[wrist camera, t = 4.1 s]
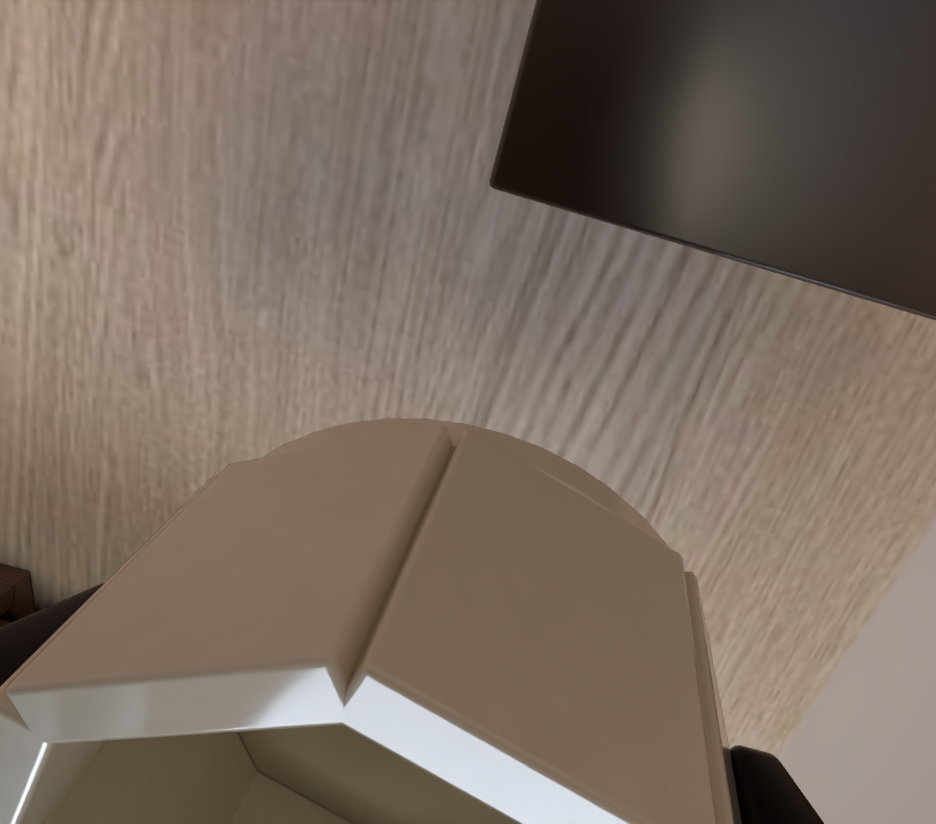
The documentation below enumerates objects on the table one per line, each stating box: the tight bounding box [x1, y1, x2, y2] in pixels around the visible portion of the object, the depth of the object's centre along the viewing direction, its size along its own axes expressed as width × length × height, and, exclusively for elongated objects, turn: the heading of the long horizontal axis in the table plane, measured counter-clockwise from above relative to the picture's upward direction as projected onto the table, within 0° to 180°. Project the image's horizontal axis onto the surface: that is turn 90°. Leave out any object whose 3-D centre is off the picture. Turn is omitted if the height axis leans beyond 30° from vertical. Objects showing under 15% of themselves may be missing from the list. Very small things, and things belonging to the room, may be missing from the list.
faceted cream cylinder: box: [0, 419, 742, 824], centre depth 7 cm, size 6×6×4 cm
